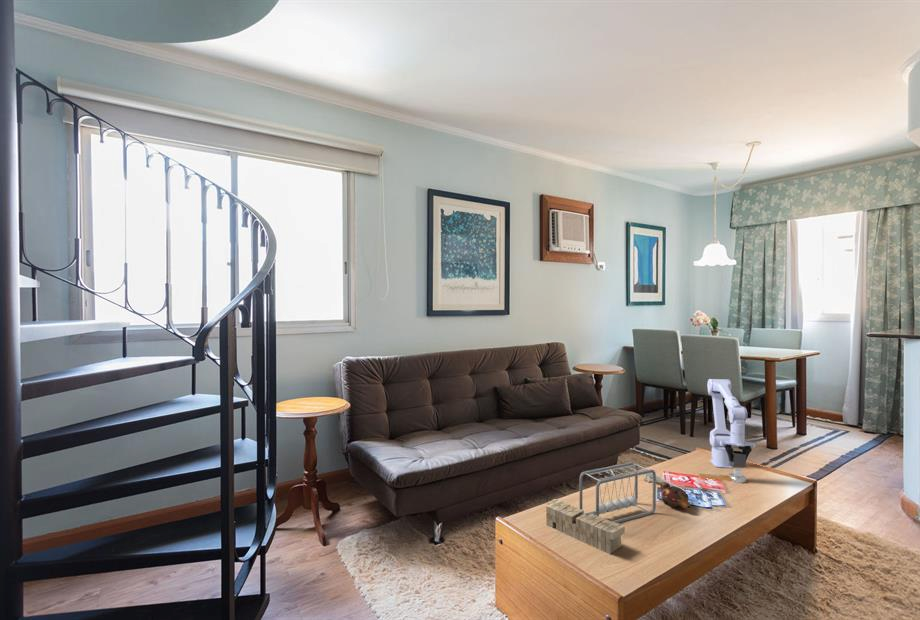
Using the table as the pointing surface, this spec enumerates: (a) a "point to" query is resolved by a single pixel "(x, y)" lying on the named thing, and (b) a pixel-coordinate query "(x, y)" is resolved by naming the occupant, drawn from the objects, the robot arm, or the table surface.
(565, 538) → the table surface
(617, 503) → the newton's cradle
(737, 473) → the ratchet
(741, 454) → the hollow square tube
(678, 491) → the decorative turtle
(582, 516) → the block tower
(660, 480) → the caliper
